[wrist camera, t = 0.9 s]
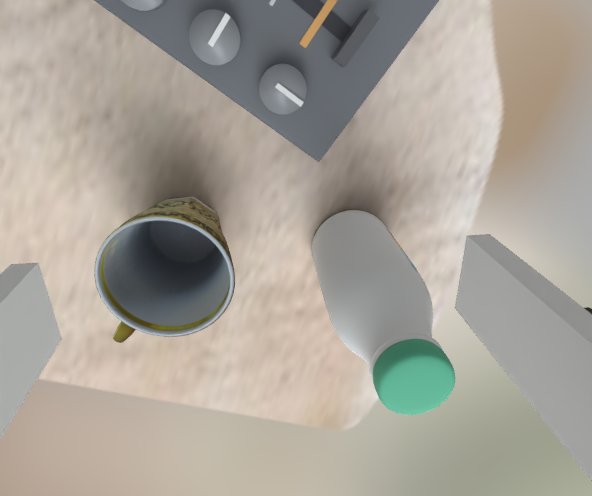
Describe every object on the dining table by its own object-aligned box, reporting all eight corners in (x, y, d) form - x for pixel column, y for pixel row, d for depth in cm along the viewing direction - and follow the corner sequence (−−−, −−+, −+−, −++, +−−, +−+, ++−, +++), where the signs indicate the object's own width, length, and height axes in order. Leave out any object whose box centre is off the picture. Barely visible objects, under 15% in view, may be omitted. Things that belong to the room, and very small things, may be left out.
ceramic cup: (169, 154, 38) (141, 187, 29) (260, 220, 41) (262, 268, 32) (93, 261, 41) (48, 321, 32) (183, 314, 45) (165, 382, 35)
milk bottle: (297, 263, 43) (328, 418, 25) (332, 195, 41) (393, 313, 22) (365, 289, 45) (438, 450, 27) (402, 225, 42) (511, 356, 24)
